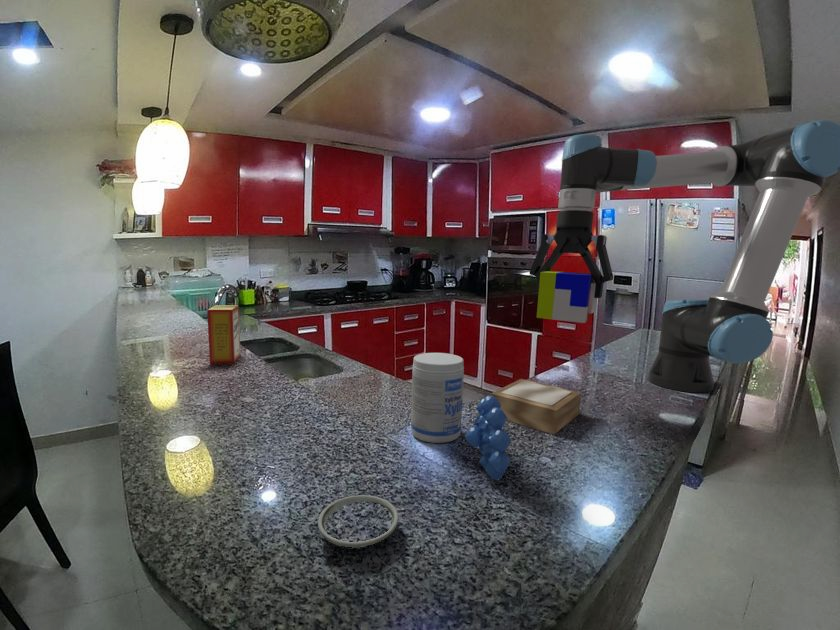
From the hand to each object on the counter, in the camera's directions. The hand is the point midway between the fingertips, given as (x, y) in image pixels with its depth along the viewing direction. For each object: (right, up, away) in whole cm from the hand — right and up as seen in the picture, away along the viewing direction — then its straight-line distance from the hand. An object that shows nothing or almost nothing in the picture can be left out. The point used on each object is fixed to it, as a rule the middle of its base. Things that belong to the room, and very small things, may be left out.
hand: (565, 309), depth 98 cm
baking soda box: (-92, -15, +31) cm, 98 cm away
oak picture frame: (-9, -23, -6) cm, 25 cm away
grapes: (-23, -26, -30) cm, 46 cm away
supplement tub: (-30, -24, -17) cm, 42 cm away
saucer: (-41, -28, -45) cm, 67 cm away
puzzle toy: (-1, -2, -1) cm, 3 cm away
